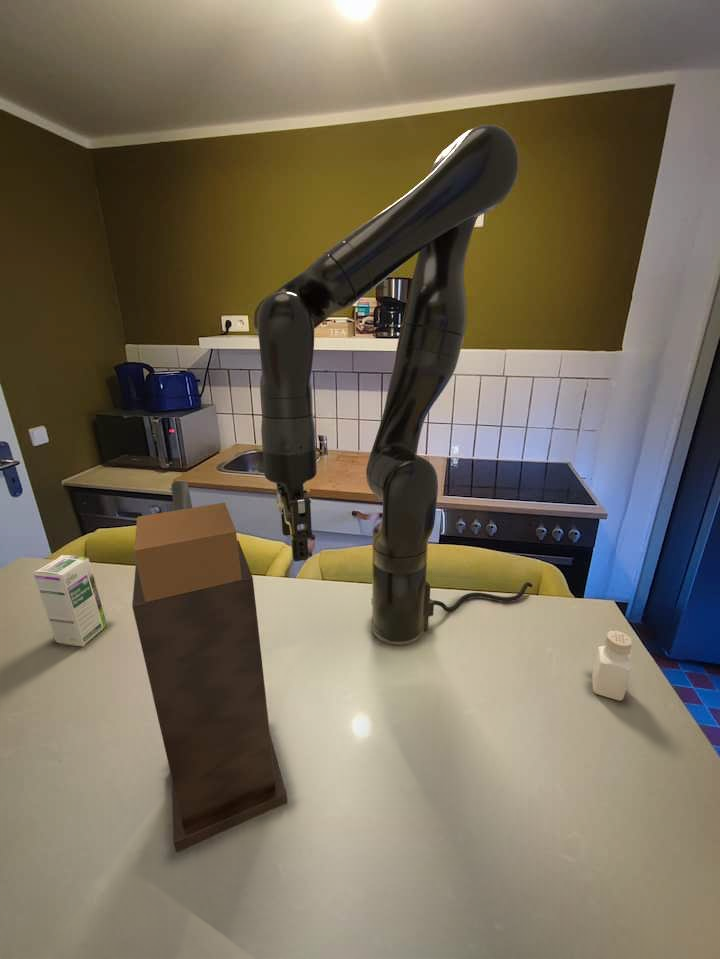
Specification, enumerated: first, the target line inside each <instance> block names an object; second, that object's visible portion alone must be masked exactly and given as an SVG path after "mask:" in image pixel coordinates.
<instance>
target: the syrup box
mask: <svg viewBox="0 0 720 959" xmlns="http://www.w3.org/2000/svg"><path fill="white" fill-rule="evenodd" d="M32 575H33V578H34V581H35V584H36V585H35V586H36V588H37V590H38V594H39V596H40V599H41V602H42V605H43V608H44V611H45V615H46V617H47V620H48V623H49V626H50V628H51V632H52V634H53V638H54V640H55V643H58V644H63V645H69V646H76V647H82V648H83V647H85V646H86V645H87V643H88V642H90V641H91V640H92V639H93V638H94V637H96V636H97V635H98V634H99V633H100V632H101V631H103V629H105V628H106V627H107V626H108V623H107V619H106V615H105V612H104V608H103V605H102V601H101V598H100V594H99V591H98V586H97V583H96V580H95V577H94V573H93V569H92V565H91V562H90V558H89V557H86V556H80V555H74V554H73V555H72V554H70V555H69V554H61V555H59V556H58V557H57V558H56V559H53V561H50V562H49V563H47V564H45V565H44V566H42V567H40V568H39V569H37V570H35V571H33V572H32Z"/></svg>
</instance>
